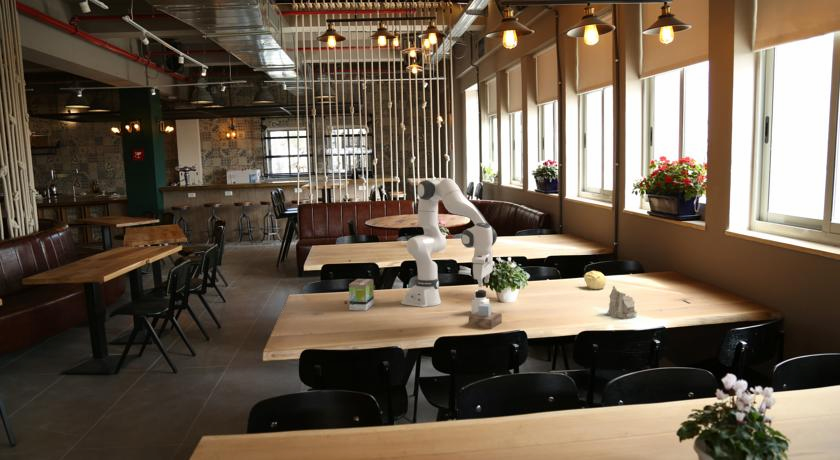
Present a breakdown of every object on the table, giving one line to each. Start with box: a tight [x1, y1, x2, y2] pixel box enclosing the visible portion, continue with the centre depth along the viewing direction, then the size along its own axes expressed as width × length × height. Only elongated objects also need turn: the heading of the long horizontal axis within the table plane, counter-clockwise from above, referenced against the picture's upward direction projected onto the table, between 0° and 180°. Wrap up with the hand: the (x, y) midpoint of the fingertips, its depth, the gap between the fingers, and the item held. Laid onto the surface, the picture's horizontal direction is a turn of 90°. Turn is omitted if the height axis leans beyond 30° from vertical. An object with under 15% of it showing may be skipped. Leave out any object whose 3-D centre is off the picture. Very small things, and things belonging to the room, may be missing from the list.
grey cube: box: [478, 303, 492, 317], centre depth 298 cm, size 5×5×5 cm
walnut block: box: [468, 311, 503, 330], centre depth 298 cm, size 12×12×5 cm
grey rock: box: [607, 285, 638, 320], centre depth 309 cm, size 16×16×15 cm
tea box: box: [348, 278, 375, 312], centre depth 337 cm, size 15×10×15 cm
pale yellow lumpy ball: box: [583, 270, 607, 290], centre depth 367 cm, size 12×12×11 cm
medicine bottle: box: [470, 289, 490, 315], centre depth 319 cm, size 7×7×12 cm
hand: (483, 284), depth 297 cm, fingers open, 8 cm apart
